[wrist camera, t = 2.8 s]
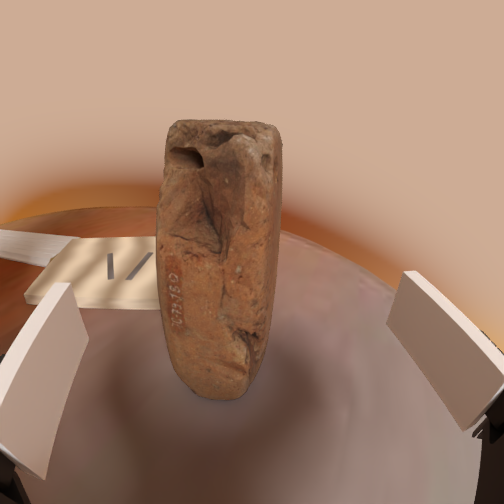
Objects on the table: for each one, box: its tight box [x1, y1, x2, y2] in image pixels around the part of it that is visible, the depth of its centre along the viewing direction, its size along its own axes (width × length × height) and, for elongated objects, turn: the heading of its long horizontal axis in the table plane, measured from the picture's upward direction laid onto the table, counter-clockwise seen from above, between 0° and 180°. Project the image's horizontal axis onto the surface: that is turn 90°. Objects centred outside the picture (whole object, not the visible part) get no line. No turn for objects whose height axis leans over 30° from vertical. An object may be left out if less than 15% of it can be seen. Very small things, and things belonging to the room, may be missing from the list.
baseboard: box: [0, 229, 81, 267], centre depth 42 cm, size 31×3×12 cm
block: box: [156, 120, 283, 400], centre depth 21 cm, size 11×8×20 cm
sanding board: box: [24, 237, 161, 310], centre depth 38 cm, size 28×18×2 cm, turn 98°
